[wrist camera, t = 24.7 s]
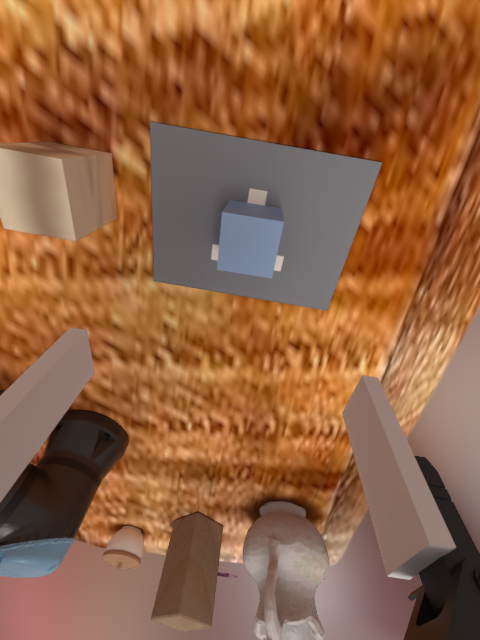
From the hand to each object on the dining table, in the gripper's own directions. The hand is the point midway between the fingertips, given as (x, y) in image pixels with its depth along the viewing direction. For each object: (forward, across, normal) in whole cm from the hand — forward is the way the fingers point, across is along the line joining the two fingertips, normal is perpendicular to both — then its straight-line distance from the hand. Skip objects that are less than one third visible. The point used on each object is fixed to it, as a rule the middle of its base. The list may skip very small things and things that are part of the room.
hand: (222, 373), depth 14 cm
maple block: (+25, -20, +2) cm, 32 cm away
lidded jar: (+26, -21, -96) cm, 101 cm away
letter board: (+24, 0, 0) cm, 25 cm away
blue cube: (+24, 0, 0) cm, 24 cm away
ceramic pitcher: (+25, +19, -68) cm, 75 cm away
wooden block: (+25, -1, -83) cm, 86 cm away
